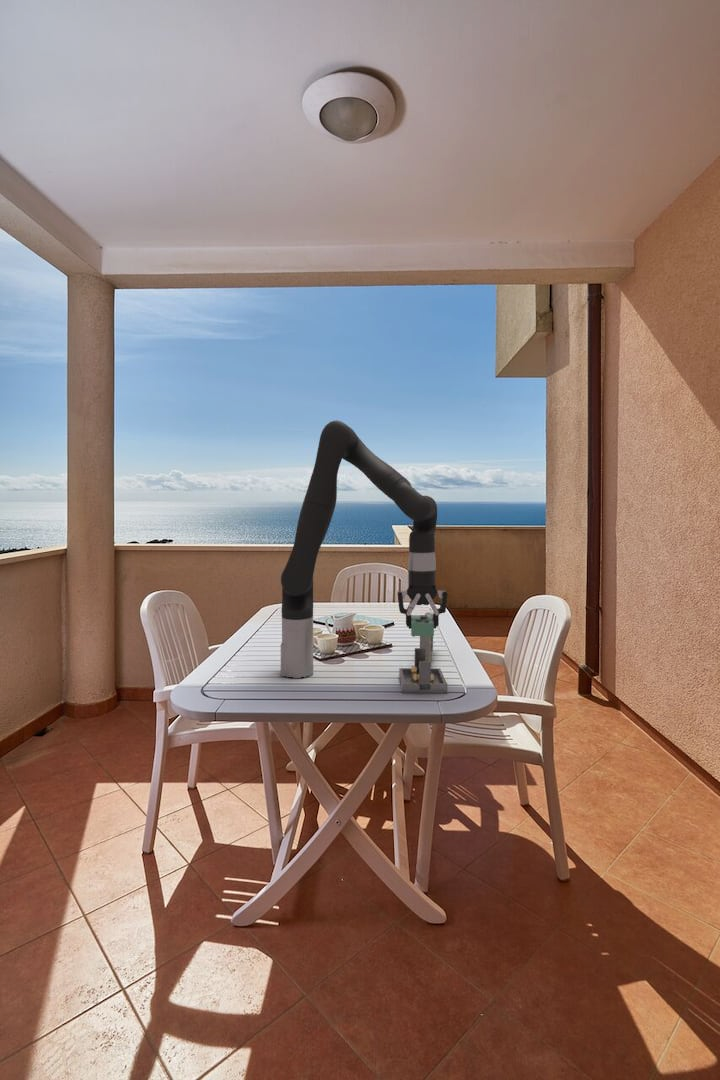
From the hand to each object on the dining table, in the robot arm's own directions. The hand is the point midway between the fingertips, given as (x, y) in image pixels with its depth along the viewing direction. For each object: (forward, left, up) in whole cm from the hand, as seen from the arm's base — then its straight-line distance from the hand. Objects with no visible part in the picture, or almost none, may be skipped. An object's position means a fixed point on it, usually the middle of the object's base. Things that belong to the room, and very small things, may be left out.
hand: (422, 627), depth 139 cm
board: (0, 0, -1) cm, 1 cm away
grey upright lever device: (+4, +25, -16) cm, 31 cm away
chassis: (0, 0, -16) cm, 16 cm away
